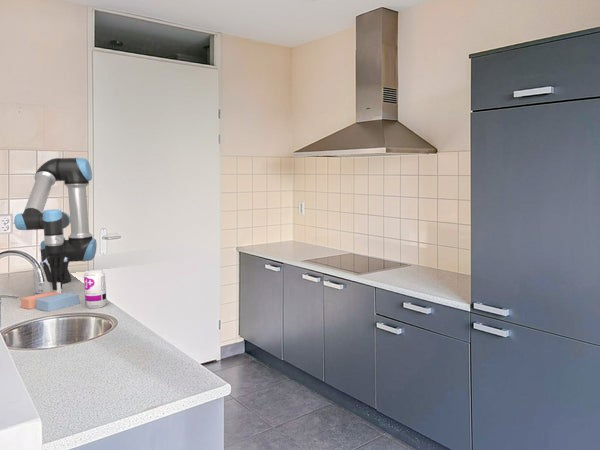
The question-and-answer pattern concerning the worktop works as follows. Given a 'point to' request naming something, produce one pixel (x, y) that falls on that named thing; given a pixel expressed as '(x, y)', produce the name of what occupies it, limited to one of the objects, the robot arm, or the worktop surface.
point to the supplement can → (95, 289)
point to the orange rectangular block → (31, 300)
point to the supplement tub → (44, 286)
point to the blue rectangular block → (57, 301)
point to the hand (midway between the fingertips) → (58, 296)
